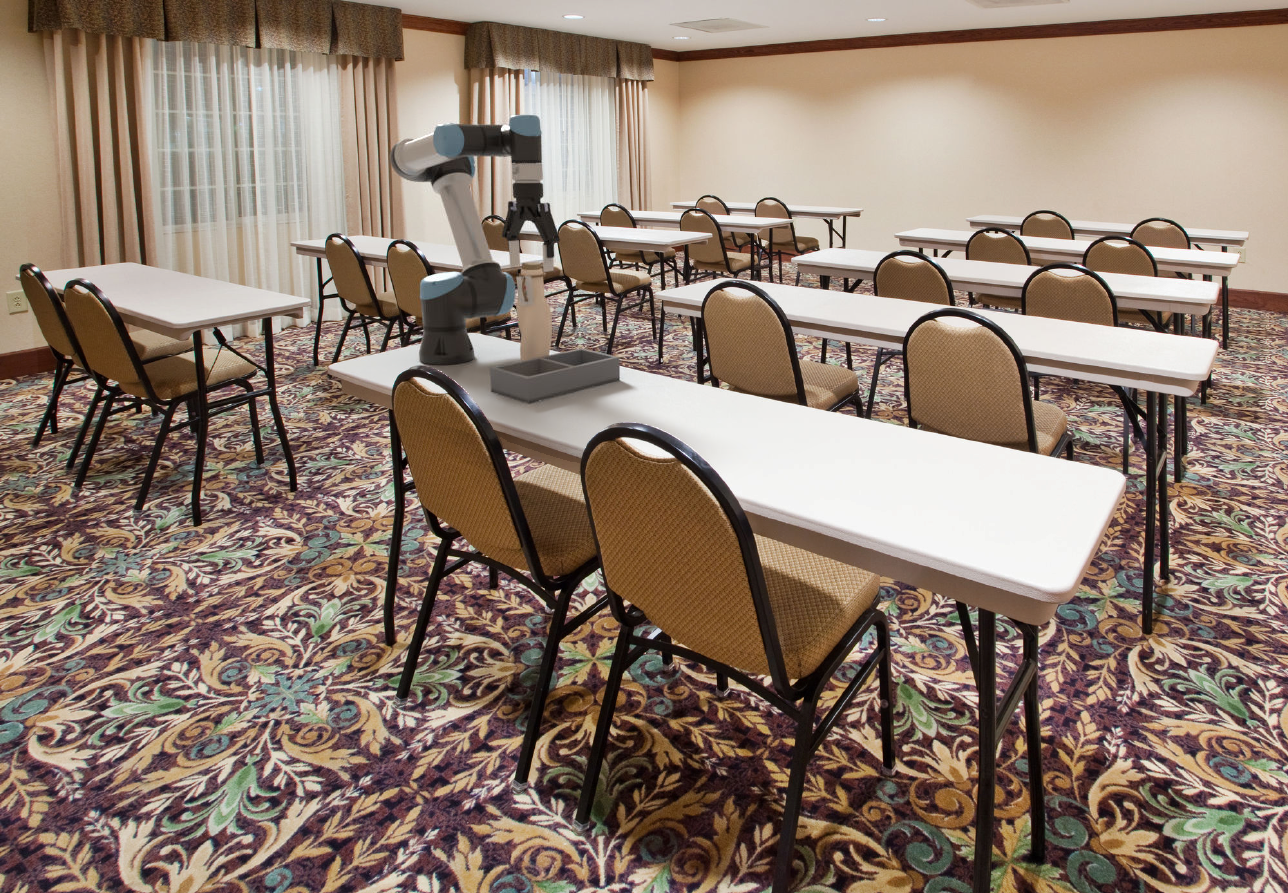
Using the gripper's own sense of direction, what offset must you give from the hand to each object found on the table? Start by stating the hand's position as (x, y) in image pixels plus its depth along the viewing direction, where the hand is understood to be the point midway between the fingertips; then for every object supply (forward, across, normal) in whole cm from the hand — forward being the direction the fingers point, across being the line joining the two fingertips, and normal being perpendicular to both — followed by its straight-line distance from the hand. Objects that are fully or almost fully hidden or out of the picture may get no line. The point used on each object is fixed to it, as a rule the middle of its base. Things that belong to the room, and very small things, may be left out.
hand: (531, 268), depth 216 cm
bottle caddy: (+27, +16, -6) cm, 32 cm away
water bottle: (+27, 0, 0) cm, 27 cm away
